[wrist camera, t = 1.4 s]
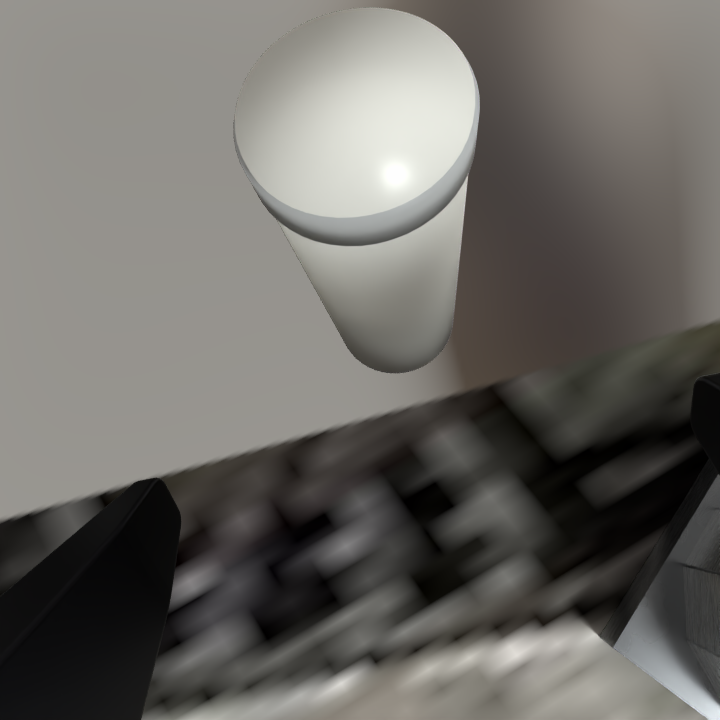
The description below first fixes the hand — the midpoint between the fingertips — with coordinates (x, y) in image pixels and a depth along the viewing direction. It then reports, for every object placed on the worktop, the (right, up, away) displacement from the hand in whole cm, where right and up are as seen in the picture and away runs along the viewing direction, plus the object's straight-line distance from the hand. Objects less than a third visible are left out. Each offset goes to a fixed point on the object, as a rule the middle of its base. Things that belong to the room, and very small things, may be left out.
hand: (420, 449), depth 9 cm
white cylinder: (+1, +3, +14) cm, 15 cm away
